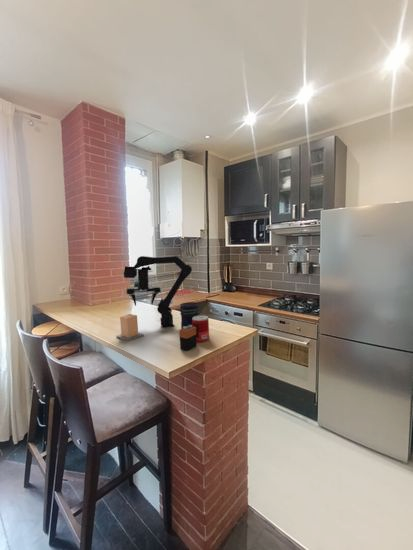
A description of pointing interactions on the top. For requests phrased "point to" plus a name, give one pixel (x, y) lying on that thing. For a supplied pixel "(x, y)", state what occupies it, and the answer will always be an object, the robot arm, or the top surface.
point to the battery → (188, 337)
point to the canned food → (201, 327)
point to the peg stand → (130, 337)
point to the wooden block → (129, 325)
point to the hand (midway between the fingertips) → (143, 305)
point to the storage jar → (188, 313)
